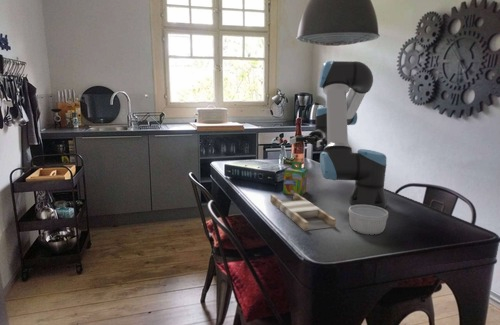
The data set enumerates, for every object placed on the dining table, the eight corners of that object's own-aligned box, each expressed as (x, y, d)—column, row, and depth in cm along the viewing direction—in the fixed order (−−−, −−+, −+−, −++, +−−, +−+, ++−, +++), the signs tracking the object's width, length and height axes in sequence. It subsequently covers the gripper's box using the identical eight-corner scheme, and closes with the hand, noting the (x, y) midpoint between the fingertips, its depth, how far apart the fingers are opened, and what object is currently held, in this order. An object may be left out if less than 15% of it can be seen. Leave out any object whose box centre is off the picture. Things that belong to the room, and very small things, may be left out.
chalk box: (282, 194, 161) (283, 163, 158) (288, 189, 169) (289, 159, 166) (302, 196, 158) (303, 165, 155) (306, 191, 166) (308, 161, 163)
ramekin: (342, 221, 129) (343, 204, 127) (376, 221, 130) (378, 203, 128) (355, 236, 116) (357, 217, 114) (393, 236, 117) (395, 217, 115)
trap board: (270, 201, 150) (270, 194, 150) (295, 199, 154) (295, 192, 153) (304, 230, 120) (305, 222, 119) (335, 227, 123) (335, 219, 123)
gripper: (339, 146, 182) (328, 153, 163) (294, 142, 193) (279, 148, 174) (340, 132, 180) (329, 137, 161) (294, 128, 191) (280, 133, 172)
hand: (303, 143), depth 168 cm, fingers open, 13 cm apart
